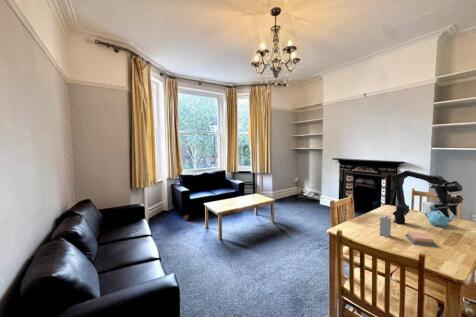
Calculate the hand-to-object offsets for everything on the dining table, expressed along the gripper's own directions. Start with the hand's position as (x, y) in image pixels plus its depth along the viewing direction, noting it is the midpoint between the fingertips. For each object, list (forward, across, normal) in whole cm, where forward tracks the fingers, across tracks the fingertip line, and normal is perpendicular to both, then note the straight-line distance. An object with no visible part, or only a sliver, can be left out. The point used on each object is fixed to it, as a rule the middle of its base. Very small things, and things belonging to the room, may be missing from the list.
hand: (452, 216), depth 141 cm
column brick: (+6, -33, +27) cm, 43 cm away
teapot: (+9, +21, +20) cm, 31 cm away
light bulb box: (+4, +41, +35) cm, 54 cm away
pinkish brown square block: (+12, -22, +12) cm, 28 cm away
